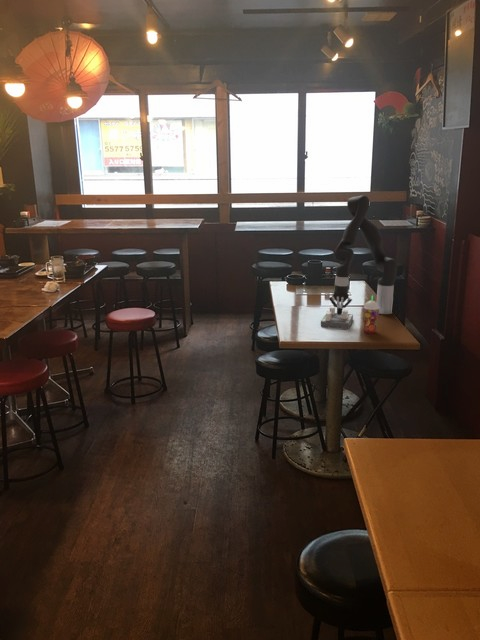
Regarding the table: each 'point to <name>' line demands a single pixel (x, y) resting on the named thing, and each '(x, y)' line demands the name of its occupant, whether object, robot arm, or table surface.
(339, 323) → the breaker panel
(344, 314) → the block
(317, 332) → the table surface
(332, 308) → the block
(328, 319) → the breaker near
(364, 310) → the smoothie
